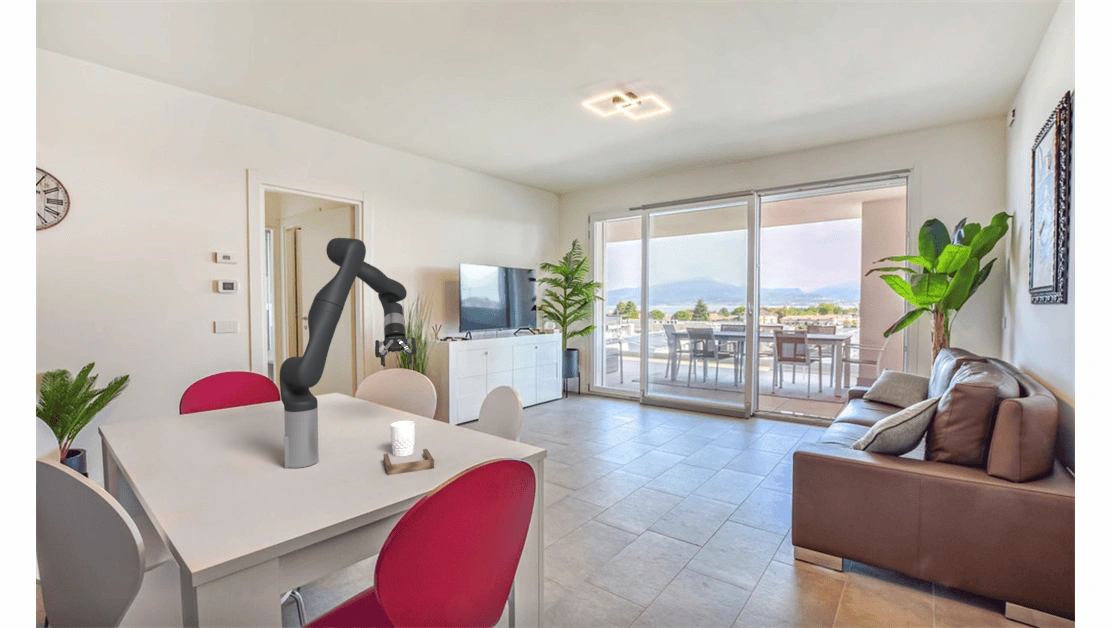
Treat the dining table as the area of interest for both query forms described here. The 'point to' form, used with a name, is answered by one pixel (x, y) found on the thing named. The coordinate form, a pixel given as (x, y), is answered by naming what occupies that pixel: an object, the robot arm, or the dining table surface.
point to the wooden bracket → (409, 464)
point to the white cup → (403, 438)
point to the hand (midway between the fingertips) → (396, 364)
